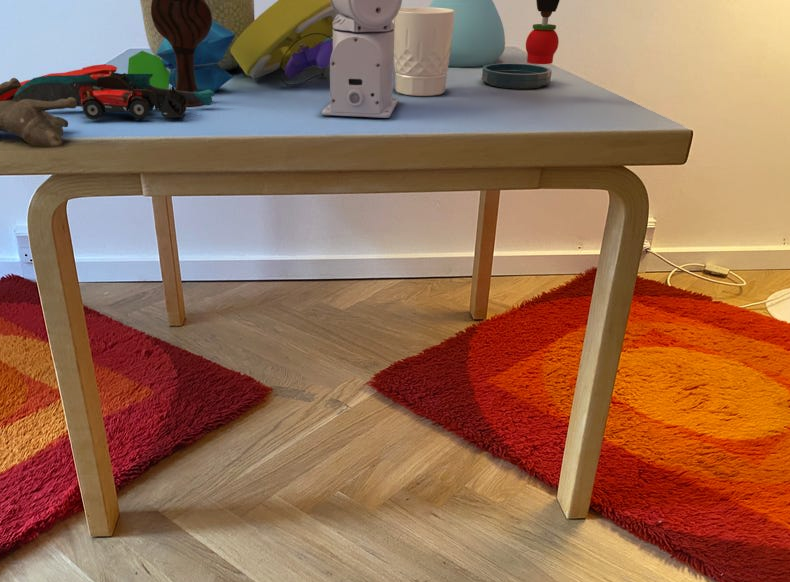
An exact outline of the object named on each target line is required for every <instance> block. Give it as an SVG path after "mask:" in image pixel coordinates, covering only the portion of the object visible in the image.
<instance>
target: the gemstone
mask: <svg viewBox="0 0 790 582" xmlns="http://www.w3.org/2000/svg"><path fill="white" fill-rule="evenodd" d="M170 73H171V72H170V71H169V70H168V68H167V67H165V66H164V64H163V62H162V61H161V59H160V58H159V57H157V56H155V55H154V54H153V53H150V52H147V51H144V50H141V51H139V52H137V53H136V54H134V55H132V56H129V57H128V66H127V74H153V76H152V77H151V78H150V80H149V81H150V85H152V86H154V87H157V88H163V89H170V84H169V78H170Z"/></svg>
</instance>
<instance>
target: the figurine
mask: <svg viewBox="0 0 790 582" xmlns="http://www.w3.org/2000/svg"><path fill="white" fill-rule="evenodd" d="M151 15H152V20H153V23H154V26H155V28H156V29H157V31H158V32H159V33H160V34H161V35H162V36H163V37H164V38H165V39H167V40H168V41H169V43H170V44H171V46H172V48H173V50H174V53H175V56H176V63H177V84H176V88H174V89H175V90H177V91H187V92H200V91H199V90H198V88H197V86H196V82H195V76H194V52H195V48H196V47H197V45H198V44H199V43H200V42H201V41H202V40H204V39H205V38H206V37H207V35H208V33H209V31H210V28H211V25H212V16H211V11H210V9H209V7H208V5H207V3H206V2H205V1H204V0H152V4H151ZM203 105H205V104H204V103H202V102H193V101H187V100H186V104H185V108H188V107H199V106H203Z"/></svg>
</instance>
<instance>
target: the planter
mask: <svg viewBox="0 0 790 582" xmlns="http://www.w3.org/2000/svg"><path fill="white" fill-rule="evenodd" d="M204 1H205V2H206V3H207V5H208V7H209V9H210V11H211V16H212V20H213V21H215V22H217V23H218V24H220V25H221V26H223V27H224V28H226V29H228V30H229V31H231V32H232V33H234V34H236V35H235V37H234V39H233V40H232V42H231V44H230V45H229V47H228V49H227V51H226V52H225V54H224V56H223V57H222V59H221V61H220V62H218V63H216V64H217V65H219V66H220V67H221V68H223V69H224V70H225V71H227V72H228V71H232V70H235V69H238V68H239V67H241V66H240V65H239V64H238V62H237V61H236V59H235V58H234V56H233V55H232V54H231V48H232V46H233V44H234V43H235V41H236V40H237V38H238V37H239V36H240V35H241V34H242V33H243V31H244V30H245V29H246V28H247V27H248V26H249V25H250V24H251V23H252V22H253V21H254V20H255V19H256V18H255V0H204ZM139 2H140V8H141V14H142V21H143V27H144V32H145V36H146V41H147V44H148V47H149V49H150V51H151V54H152V55H155V56H157V57H159V56H158V55H156V53H157V51H158V49H159V47H160V45H161V43H162V41H163V39H164V37H163V36H162V35H161V34H160V33H159V32H158V31H157V29H156V28H155V26H154V23H153V20H152V15H151V4H152V0H139ZM159 58H160V59H161V60H162V58H161V57H159ZM210 64H215V63H210ZM202 65H206V64H202ZM195 66H196V65H195ZM175 69H176V68H175ZM175 69H171V70H172V71H173V70H175Z"/></svg>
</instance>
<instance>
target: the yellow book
mask: <svg viewBox="0 0 790 582" xmlns="http://www.w3.org/2000/svg"><path fill="white" fill-rule="evenodd" d="M336 15H338V14H337V13H336V12H335V10H334V9H333V7H332V5H331V2H330V0H276V1H275V2H274V3H273V4H272V5H270V6H269V7H268V8H266V9H265V10H264V11H263V12H262V13H260V15H258V16H257V17H256V18H255V20H254V21H253V22H252V23H251V24H250V25H249V26H248V27H247V28H246V29H245V30H244V31H243V33H242V34H241V35H240V36H239V37H238V38H237V40H236V41H235V43H234V44H233V46H232V48H231V54H232V55H233V56H234V58H235V59H236V61H237V62H238V64H239V65H240V66H239V67H240V68H241V70H242V72H244V73H245V75H246V76H248V77H251V78H252V79H258V78H261V77H264V76H266V75H268V74H271V73H273V72H274V71H276V70H278V69H279V68H280V65H281V69H282V70H283V71H284V72H285V67H286V65H287V63H288V61H289V60H290V58H291V57H292V55H293V54H294V53H295V52H297V50H299V49H301V47H300V46H299V47H298V45H300V44H301V43H305V44H304V47H306V46H310V45H313V44H314V46H316V45H318V43H320V42H322V41H323V40H325V39H328V38H329V37H331V36H333V29H334V28H333V21H334V19H335V18H336ZM313 33H321V34H325V35H327V36H329V37H327V36H325V35H321V34H313ZM309 34H313V35H309ZM306 35H309V36H306ZM304 36H306V37H304ZM302 37H304V38H302ZM300 38H302V39H300ZM299 39H300V40H299ZM297 40H299V41H298V42H296V41H297ZM295 42H296V43H295ZM294 43H295V44H294ZM293 44H294V45H293ZM292 45H293V46H292ZM291 46H292V47H291ZM290 47H291V48H290ZM289 48H290V49H289ZM288 49H289V50H288ZM287 50H288V52H287ZM286 52H287V53H286ZM285 53H286V55H285ZM284 55H285V57H284ZM283 57H284V59H283ZM282 59H283V61H282ZM281 62H282V64H281Z"/></svg>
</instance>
